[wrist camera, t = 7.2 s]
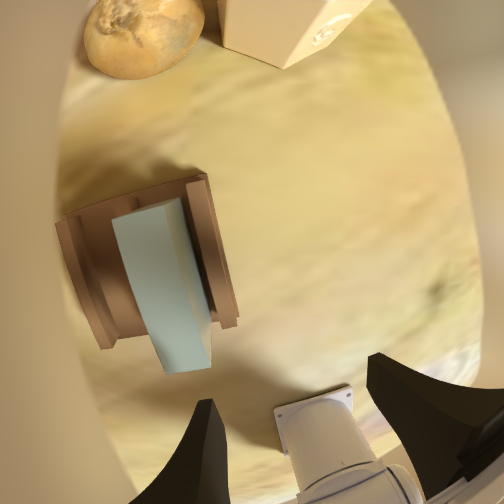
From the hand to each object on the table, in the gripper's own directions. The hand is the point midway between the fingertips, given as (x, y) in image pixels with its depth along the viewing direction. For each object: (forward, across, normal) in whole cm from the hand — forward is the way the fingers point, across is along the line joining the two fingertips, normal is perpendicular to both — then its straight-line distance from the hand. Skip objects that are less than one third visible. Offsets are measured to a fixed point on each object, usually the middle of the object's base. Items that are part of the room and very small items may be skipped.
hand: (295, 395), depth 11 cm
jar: (+10, -5, -21) cm, 24 cm away
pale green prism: (+9, +5, -5) cm, 11 cm away
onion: (+10, +4, -21) cm, 24 cm away
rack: (+10, +7, -5) cm, 13 cm away
